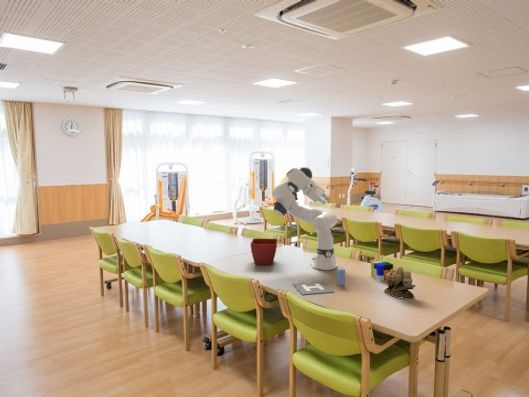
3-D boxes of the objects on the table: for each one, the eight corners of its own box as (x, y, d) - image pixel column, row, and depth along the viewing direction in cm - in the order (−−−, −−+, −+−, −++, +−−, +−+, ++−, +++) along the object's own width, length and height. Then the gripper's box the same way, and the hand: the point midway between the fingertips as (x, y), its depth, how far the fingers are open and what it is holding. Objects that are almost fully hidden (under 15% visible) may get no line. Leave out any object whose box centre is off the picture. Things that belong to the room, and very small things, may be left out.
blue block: (336, 283, 246) (336, 268, 245) (343, 283, 246) (343, 268, 245) (338, 285, 242) (338, 270, 241) (344, 285, 242) (345, 269, 241)
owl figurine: (419, 295, 224) (419, 266, 222) (410, 301, 215) (411, 271, 213) (389, 288, 236) (389, 260, 234) (380, 293, 228) (380, 265, 226)
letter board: (292, 284, 246) (292, 283, 246) (322, 281, 250) (322, 280, 250) (301, 295, 226) (301, 294, 226) (334, 292, 230) (334, 291, 230)
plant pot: (278, 259, 305) (277, 238, 303) (276, 266, 286) (276, 244, 284) (253, 259, 307) (253, 238, 305) (250, 266, 288) (250, 243, 286)
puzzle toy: (379, 281, 250) (379, 265, 249) (370, 276, 259) (371, 261, 258) (392, 279, 252) (393, 264, 251) (384, 275, 262) (384, 260, 261)
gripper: (310, 187, 251) (326, 201, 250) (302, 194, 233) (320, 209, 231) (316, 179, 249) (332, 193, 247) (308, 186, 230) (327, 201, 229)
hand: (326, 201), depth 239 cm, fingers open, 8 cm apart
